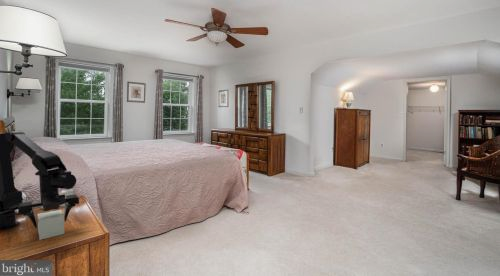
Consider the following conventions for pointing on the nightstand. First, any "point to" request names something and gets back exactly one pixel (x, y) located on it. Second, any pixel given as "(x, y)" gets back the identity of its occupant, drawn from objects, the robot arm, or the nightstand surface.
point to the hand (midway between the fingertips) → (51, 224)
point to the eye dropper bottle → (66, 194)
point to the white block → (50, 224)
